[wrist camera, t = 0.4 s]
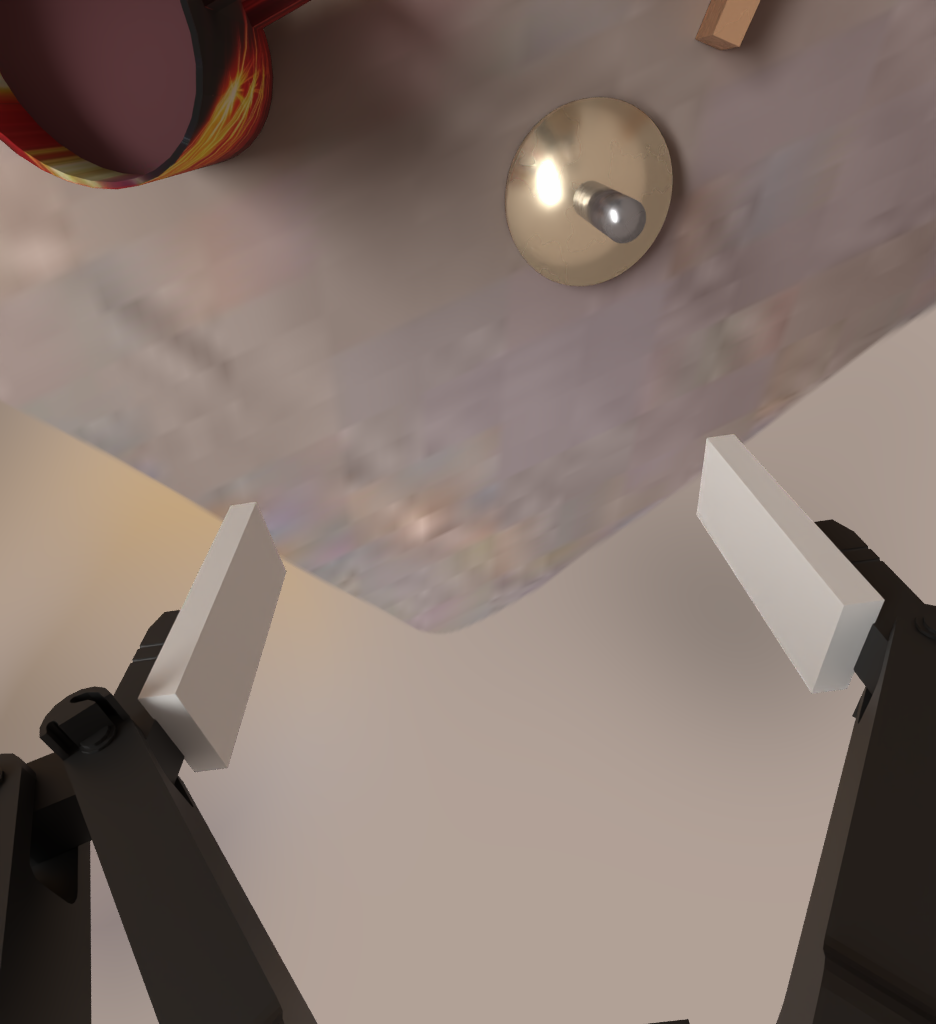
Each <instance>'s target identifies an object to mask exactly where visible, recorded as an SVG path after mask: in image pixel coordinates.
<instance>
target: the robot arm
mask: <svg viewBox="0 0 936 1024" xmlns="http://www.w3.org/2000/svg"><path fill="white" fill-rule="evenodd" d="M697 516H698V517H699V519H700V521H701V522H702V524H703V525H704V527H705V528H706V530H707V532H708V533H709V535H710V536H711V538H712V539H713V541H714V543H715V544H716V546H717V547H718V549H719V550H720V552H721V553H722V555H723V557H724V558H725V560H726V561H727V563H728V564H729V566H730V567H731V569H732V570H733V572H734V574H735V575H736V577H737V578H738V580H739V581H740V583H741V584H742V586H743V588H744V589H745V591H746V592H747V594H748V595H749V597H750V598H751V600H752V602H753V603H754V605H755V606H756V608H757V609H758V611H759V612H760V614H761V616H762V617H763V618H764V620H765V622H766V623H767V625H768V626H769V628H770V630H771V631H772V633H773V634H774V636H775V637H776V639H777V640H778V642H779V644H780V645H781V647H782V648H783V650H784V651H785V653H786V654H787V656H788V657H789V659H790V660H791V662H792V664H793V665H794V667H795V668H796V670H797V671H798V673H799V674H800V676H801V677H802V679H803V681H804V682H805V684H806V685H807V687H808V689H809V690H810V691H811V693H818V692H827V691H835V690H843V689H847V687H848V685H849V683H850V681H851V678H852V676H853V673H854V671H855V672H856V674H857V675H858V676H859V678H860V679H861V681H862V682H863V683H864V684H865V686H866V687H865V689H864V691H863V694H862V696H861V698H860V700H859V703H858V705H857V707H856V709H855V711H854V714H853V717H855V718H856V721H855V724H854V728H853V732H852V736H851V740H850V744H849V748H848V752H847V756H846V759H845V763H844V767H843V771H842V775H841V779H840V783H839V787H838V791H837V795H836V799H835V803H834V807H833V811H832V815H831V819H830V822H829V826H828V830H827V834H826V838H825V842H824V846H823V850H822V854H821V858H820V862H819V866H818V870H817V874H816V878H815V882H814V886H813V890H812V894H811V897H810V901H809V905H808V909H807V913H806V917H805V921H804V925H803V929H802V933H801V937H800V941H799V945H798V949H797V953H796V957H795V961H794V964H793V968H792V972H791V976H790V980H789V984H788V988H787V992H786V996H785V999H784V1003H783V1006H782V1009H781V1012H780V1015H779V1018H778V1020H777V1023H776V1024H936V606H933V605H928V604H924V603H923V602H922V601H921V600H920V599H919V598H918V597H917V596H916V595H915V594H914V593H913V592H912V591H911V589H909V587H907V585H906V584H905V583H904V582H903V581H902V580H901V579H900V578H899V577H898V576H897V575H896V574H895V573H894V572H893V571H892V570H891V569H890V568H889V567H888V566H887V565H886V564H885V563H884V562H883V561H880V558H879V557H878V556H877V555H876V554H875V553H874V552H873V551H872V550H871V549H868V546H867V545H866V544H865V543H864V542H863V541H862V540H861V538H859V537H858V535H857V534H856V533H855V532H854V531H852V530H850V529H848V528H847V527H845V526H843V525H841V524H839V523H837V522H836V521H834V520H825V521H818V522H813V521H812V520H811V518H810V517H809V516H808V515H807V514H806V513H805V512H804V511H803V510H802V509H801V507H800V506H799V505H798V504H797V503H796V502H795V501H794V500H793V499H792V498H791V496H790V495H789V494H788V493H787V492H786V491H785V490H784V489H783V488H782V487H781V485H780V484H779V483H778V482H777V481H776V480H775V479H774V478H773V477H772V476H771V474H770V473H769V472H768V471H767V470H766V469H765V468H764V467H763V466H762V464H761V463H760V462H759V461H758V460H757V459H756V458H755V457H754V456H753V455H752V453H751V452H750V451H749V450H748V449H747V448H746V447H745V446H744V445H743V444H742V442H741V441H740V440H739V439H738V438H737V437H736V436H735V435H734V434H731V435H724V436H717V437H710V438H707V441H706V448H705V456H704V463H703V471H702V478H701V486H700V493H699V501H698V508H697ZM285 574H286V570H285V567H284V565H283V563H282V560H281V558H280V556H279V553H278V551H277V549H276V546H275V544H274V542H273V539H272V537H271V535H270V533H269V530H268V528H267V526H266V523H265V521H264V519H263V516H262V514H261V512H260V509H259V507H258V505H257V502H252V503H245V504H238V505H231V506H230V508H229V510H228V512H227V514H226V516H225V518H224V521H223V523H222V525H221V527H220V529H219V531H218V533H217V535H216V537H215V539H214V541H213V543H212V545H211V548H210V550H209V552H208V554H207V556H206V558H205V560H204V562H203V565H202V566H201V568H200V570H199V572H198V575H197V577H196V579H195V581H194V583H193V585H192V587H191V589H190V591H189V593H188V595H187V597H186V599H185V602H184V604H183V606H182V608H181V610H177V611H170V612H164V614H162V615H161V616H160V617H159V618H158V620H157V621H156V622H155V623H154V624H153V625H152V626H151V627H150V628H149V629H148V631H147V633H146V635H145V637H144V639H143V641H142V642H141V644H140V649H138V650H137V652H136V654H135V656H134V658H133V663H131V664H130V665H129V667H128V669H127V671H126V673H125V675H124V677H123V679H122V681H121V682H120V684H119V686H118V688H117V690H116V692H115V694H114V696H113V695H112V694H111V693H110V692H109V691H108V690H107V689H105V688H102V687H90V688H86V689H81V690H79V691H77V692H75V693H73V694H71V695H69V696H67V697H66V698H65V699H63V700H62V701H61V702H59V703H58V704H57V705H55V706H54V708H53V709H52V710H51V711H50V712H49V713H48V714H47V715H46V717H45V719H44V720H43V722H42V725H41V726H40V738H41V739H42V740H43V741H44V742H45V743H46V744H47V745H48V746H49V747H50V748H51V749H52V750H53V751H54V753H52V754H49V755H47V756H44V757H42V758H39V759H37V760H34V761H32V762H29V763H27V764H26V763H25V762H24V761H22V760H21V759H20V758H19V757H17V756H16V755H14V754H0V1024H91V915H90V914H91V913H90V912H91V909H90V841H91V840H92V841H93V844H94V846H95V849H96V852H97V854H98V857H99V860H100V863H101V866H102V868H103V871H104V874H105V876H106V879H107V882H108V885H109V887H110V890H111V893H112V896H113V898H114V901H115V904H116V907H117V909H118V912H119V915H120V917H121V920H122V923H123V925H124V929H125V931H126V934H127V937H128V940H129V942H130V945H131V948H132V951H133V953H134V956H135V959H136V961H137V964H138V967H139V970H140V972H141V975H142V978H143V981H144V983H145V986H146V989H147V992H148V994H149V997H150V1000H151V1002H152V1005H153V1008H154V1011H155V1013H156V1016H157V1019H158V1022H159V1024H317V1022H316V1020H315V1019H314V1017H313V1015H312V1013H311V1011H310V1009H309V1008H308V1006H307V1004H306V1002H305V1001H304V999H303V997H302V995H301V993H300V991H299V990H298V988H297V986H296V984H295V982H294V981H293V979H292V977H291V975H290V973H289V972H288V970H287V968H286V966H285V964H284V963H283V961H282V959H281V957H280V956H279V954H278V952H277V950H276V948H275V946H274V945H273V943H272V941H271V939H270V937H269V936H268V934H267V932H266V930H265V928H264V927H263V925H262V923H261V921H260V919H259V918H258V916H257V914H256V912H255V910H254V909H253V907H252V905H251V903H250V902H249V900H248V898H247V896H246V894H245V892H244V891H243V889H242V887H241V885H240V883H239V882H238V880H237V878H236V876H235V874H234V873H233V871H232V869H231V867H230V865H229V864H228V862H227V860H226V858H225V856H224V855H223V853H222V851H221V849H220V847H219V845H218V844H217V842H216V840H215V838H214V837H213V835H212V833H211V831H210V829H209V827H208V826H207V824H206V822H205V820H204V818H203V817H202V815H201V813H200V811H199V809H198V808H197V806H196V804H195V802H194V801H193V799H192V797H191V795H190V793H189V791H188V790H187V788H186V786H185V784H184V782H183V781H182V780H181V779H180V777H179V776H178V773H179V770H180V768H181V765H182V762H183V760H184V759H185V760H186V761H187V763H188V764H189V765H190V767H191V768H192V769H193V771H194V772H200V771H208V770H216V769H224V768H228V765H229V762H230V759H231V755H232V752H233V748H234V745H235V742H236V738H237V735H238V732H239V728H240V725H241V721H242V718H243V715H244V711H245V708H246V705H247V701H248V698H249V695H250V691H251V688H252V685H253V681H254V678H255V674H256V671H257V668H258V665H259V661H260V657H261V655H262V651H263V648H264V644H265V641H266V638H267V634H268V631H269V628H270V624H271V621H272V618H273V614H274V611H275V608H276V604H277V601H278V597H279V594H280V591H281V587H282V584H283V581H284V577H285ZM650 1024H689V1020H688V1019H687V1020H677V1021H668V1022H659V1023H650Z"/></svg>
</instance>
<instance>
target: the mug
mask: <svg viewBox="0 0 936 1024" xmlns="http://www.w3.org/2000/svg"><path fill="white" fill-rule="evenodd" d="M309 1H311V0H0V140H1V141H3V142H4V143H5V144H6V145H7V146H8V147H10V148H11V149H12V150H13V151H14V152H15V153H17V154H18V155H20V156H21V157H23V158H24V159H26V160H28V161H29V162H31V163H32V164H34V165H35V166H37V167H38V168H40V169H42V170H44V171H46V172H48V173H50V174H53V175H55V176H57V177H59V178H61V179H64V180H66V181H68V182H72V183H76V184H80V185H84V186H88V187H92V188H104V189H121V188H127V187H133V186H139V185H143V184H146V183H150V182H153V181H157V180H160V179H164V178H167V177H171V176H174V175H178V174H181V173H185V172H188V171H192V170H195V169H199V168H202V167H206V166H210V165H213V164H217V163H220V162H224V161H226V160H228V159H230V158H233V157H235V156H237V155H239V154H240V153H241V152H242V151H244V150H245V149H246V148H248V147H249V146H250V145H251V144H252V142H253V141H254V140H255V139H256V137H257V136H258V135H259V133H260V132H261V130H262V127H263V125H264V123H265V121H266V119H267V117H268V113H269V108H270V104H271V100H272V89H273V72H272V63H271V55H270V51H269V47H268V43H267V40H266V36H265V32H264V30H263V28H264V27H266V26H267V25H269V24H271V23H273V22H274V21H276V20H278V19H280V18H281V17H283V16H285V15H287V14H288V13H290V12H292V11H293V10H295V9H297V8H299V7H300V6H302V5H304V4H306V3H307V2H309Z"/></svg>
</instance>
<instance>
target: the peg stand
mask: <svg viewBox="0 0 936 1024" xmlns="http://www.w3.org/2000/svg"><path fill="white" fill-rule="evenodd" d="M672 187H673V173H672V164H671V159H670V155H669V150H668V148H667V145H666V143H665V140H664V138H663V136H662V134H661V133H660V131H659V129H658V128H657V126H656V125H655V124H654V123H653V121H652V120H651V119H650V118H649V117H648V116H647V115H646V114H645V113H644V112H642V111H641V110H639V109H638V108H636V107H635V106H633V105H631V104H629V103H626V102H624V101H621V100H617V99H613V98H603V97H595V98H584V99H580V100H576V101H572V102H569V103H567V104H565V105H562V106H560V107H559V108H557V109H555V110H553V111H552V112H550V113H549V114H548V115H546V116H545V117H544V118H543V119H541V120H540V121H539V122H538V123H537V124H536V125H535V126H534V127H533V128H532V130H531V131H530V132H529V133H528V135H527V136H526V137H525V139H524V140H523V142H522V144H521V145H520V147H519V149H518V150H517V152H516V155H515V157H514V159H513V161H512V164H511V167H510V170H509V174H508V178H507V183H506V191H505V212H506V218H507V224H508V227H509V231H510V234H511V236H512V238H513V241H514V243H515V245H516V246H517V248H518V250H519V252H520V253H521V255H522V256H523V257H524V259H525V260H526V261H527V263H528V264H529V265H530V266H531V267H532V268H533V269H534V270H535V271H537V272H538V273H540V274H541V275H542V276H544V277H546V278H548V279H550V280H552V281H554V282H557V283H560V284H564V285H570V286H588V285H594V284H598V283H602V282H605V281H607V280H610V279H612V278H614V277H616V276H618V275H620V274H621V273H623V272H624V271H626V270H627V269H629V268H630V267H631V266H633V265H634V264H635V263H636V262H637V261H638V260H639V259H640V258H641V257H642V256H643V255H644V254H645V253H646V252H647V250H648V249H649V248H650V246H651V245H652V244H653V242H654V241H655V239H656V237H657V236H658V234H659V232H660V230H661V228H662V226H663V224H664V221H665V218H666V216H667V213H668V209H669V205H670V201H671V195H672Z"/></svg>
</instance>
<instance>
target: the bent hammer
mask: <svg viewBox="0 0 936 1024" xmlns="http://www.w3.org/2000/svg"><path fill="white" fill-rule="evenodd" d="M759 2H760V0H711V2H710V4H709V7H708V9H707V12H706V14H705V16H704V19H703V21H702V24H701V26H700V29H699V31H698V33H697V36H696V38H695V39H696V40H698V41H701V42H703V43H705V44H707V45H710V46H712V47H714V48H716V49H719V50H725V49H730V48H735V47H740V44H741V42H742V40H743V38H744V36H745V33H746V31H747V29H748V27H749V24H750V22H751V20H752V18H753V16H754V13H755V11H756V9H757V7H758V4H759Z"/></svg>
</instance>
